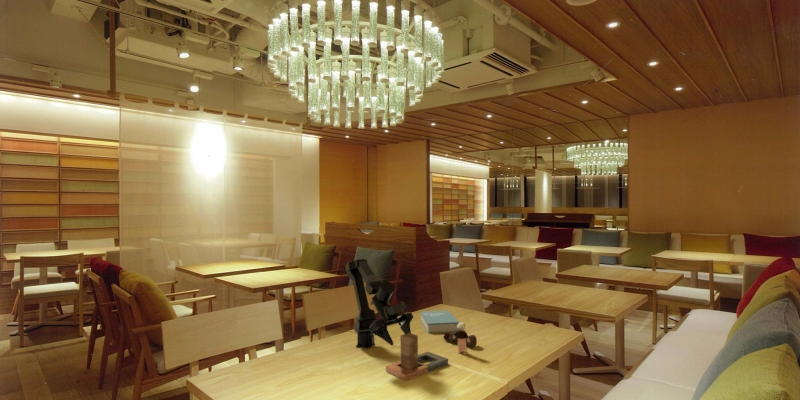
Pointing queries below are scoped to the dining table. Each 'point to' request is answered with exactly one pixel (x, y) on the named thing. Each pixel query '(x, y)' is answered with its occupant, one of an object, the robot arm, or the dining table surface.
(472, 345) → the bolt
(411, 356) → the walnut post
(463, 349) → the grandmother figurine
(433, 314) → the book
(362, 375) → the dining table surface
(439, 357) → the grey-tan flat frame piece
